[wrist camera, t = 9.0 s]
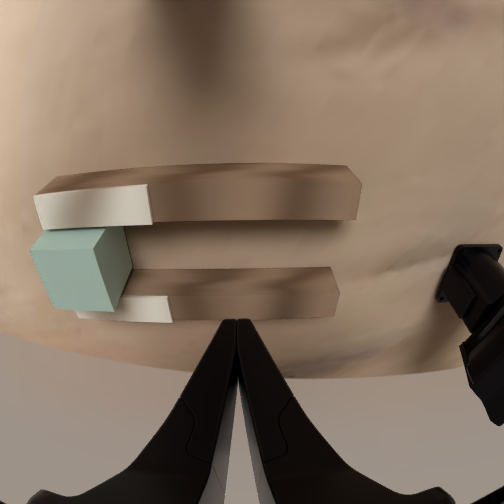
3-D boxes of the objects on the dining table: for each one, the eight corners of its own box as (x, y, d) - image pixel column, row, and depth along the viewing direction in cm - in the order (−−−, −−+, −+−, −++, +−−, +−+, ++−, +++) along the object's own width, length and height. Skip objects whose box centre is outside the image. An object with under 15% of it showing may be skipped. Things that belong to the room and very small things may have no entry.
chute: (346, 165, 19) (363, 185, 17) (325, 290, 25) (334, 319, 23) (56, 176, 19) (33, 197, 16) (91, 291, 25) (78, 318, 22)
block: (119, 208, 20) (93, 248, 16) (132, 266, 23) (114, 311, 19) (61, 212, 20) (29, 250, 16) (78, 266, 23) (54, 308, 19)
